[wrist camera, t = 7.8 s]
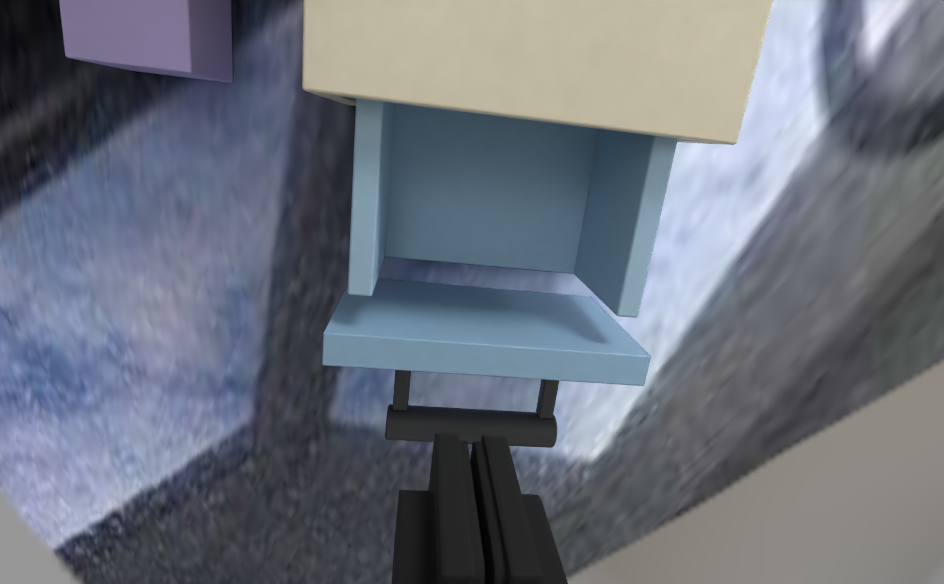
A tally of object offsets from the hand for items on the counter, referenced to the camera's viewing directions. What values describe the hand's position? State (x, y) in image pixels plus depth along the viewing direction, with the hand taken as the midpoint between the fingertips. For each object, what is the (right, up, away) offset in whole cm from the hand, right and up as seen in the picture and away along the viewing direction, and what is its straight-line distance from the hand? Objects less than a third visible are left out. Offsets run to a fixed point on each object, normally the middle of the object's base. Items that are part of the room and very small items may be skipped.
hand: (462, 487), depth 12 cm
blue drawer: (+1, +8, +11) cm, 14 cm away
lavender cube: (-11, +15, +8) cm, 21 cm away
